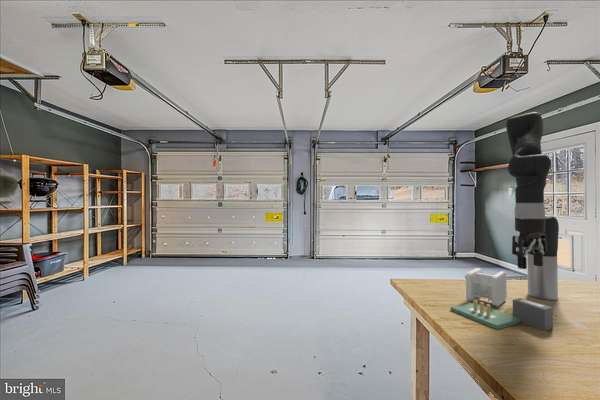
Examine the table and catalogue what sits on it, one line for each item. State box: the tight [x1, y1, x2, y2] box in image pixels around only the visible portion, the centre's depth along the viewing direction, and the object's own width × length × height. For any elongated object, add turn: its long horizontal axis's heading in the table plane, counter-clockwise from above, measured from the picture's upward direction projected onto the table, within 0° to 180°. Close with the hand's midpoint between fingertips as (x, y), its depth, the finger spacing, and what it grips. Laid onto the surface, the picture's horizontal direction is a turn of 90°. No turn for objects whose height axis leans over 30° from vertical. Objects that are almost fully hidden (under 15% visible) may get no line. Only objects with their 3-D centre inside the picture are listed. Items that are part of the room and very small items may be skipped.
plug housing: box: [512, 297, 554, 332], centre depth 87 cm, size 4×9×7 cm, turn 22°
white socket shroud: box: [464, 267, 508, 308], centre depth 107 cm, size 15×11×12 cm
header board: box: [450, 299, 522, 330], centre depth 93 cm, size 12×16×5 cm
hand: (530, 267), depth 87 cm, fingers open, 8 cm apart
